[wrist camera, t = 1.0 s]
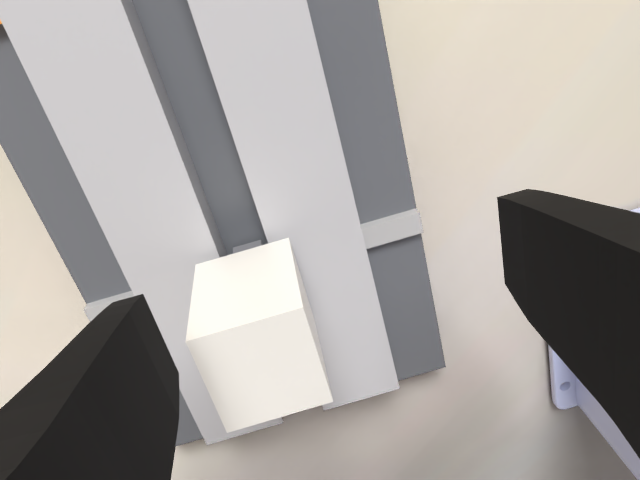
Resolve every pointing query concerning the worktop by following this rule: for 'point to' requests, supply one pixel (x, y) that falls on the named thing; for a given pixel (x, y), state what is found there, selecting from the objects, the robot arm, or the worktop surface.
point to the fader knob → (256, 336)
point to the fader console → (224, 168)
